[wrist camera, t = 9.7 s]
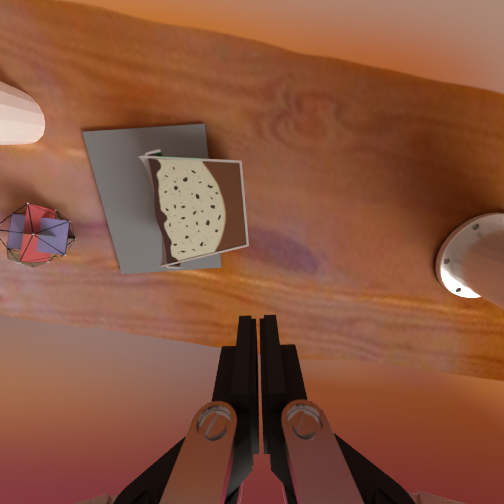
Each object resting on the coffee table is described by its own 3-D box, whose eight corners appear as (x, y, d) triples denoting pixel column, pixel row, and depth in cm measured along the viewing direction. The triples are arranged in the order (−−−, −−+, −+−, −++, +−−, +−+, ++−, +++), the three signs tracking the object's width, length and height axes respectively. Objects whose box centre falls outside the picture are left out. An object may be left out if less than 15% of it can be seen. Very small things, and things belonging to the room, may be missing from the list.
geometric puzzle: (7, 184, 28) (-44, 240, 23) (68, 192, 28) (29, 249, 24) (44, 223, 34) (9, 274, 29) (95, 230, 34) (67, 280, 30)
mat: (205, 124, 28) (204, 123, 27) (221, 265, 34) (221, 267, 34) (85, 132, 28) (82, 131, 27) (123, 272, 34) (121, 273, 34)
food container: (231, 153, 30) (148, 157, 28) (240, 145, 25) (136, 150, 23) (240, 246, 34) (167, 256, 32) (249, 258, 28) (160, 271, 26)
